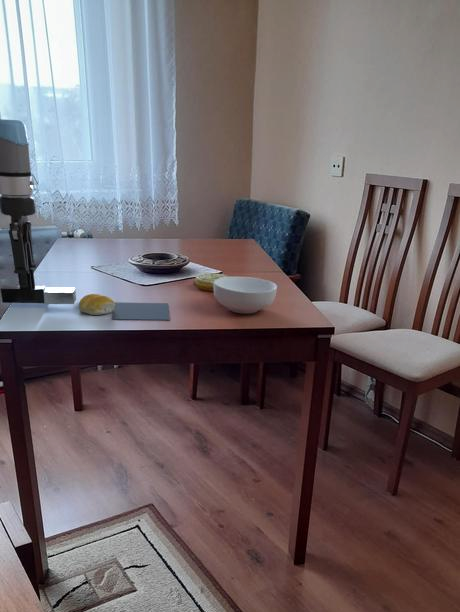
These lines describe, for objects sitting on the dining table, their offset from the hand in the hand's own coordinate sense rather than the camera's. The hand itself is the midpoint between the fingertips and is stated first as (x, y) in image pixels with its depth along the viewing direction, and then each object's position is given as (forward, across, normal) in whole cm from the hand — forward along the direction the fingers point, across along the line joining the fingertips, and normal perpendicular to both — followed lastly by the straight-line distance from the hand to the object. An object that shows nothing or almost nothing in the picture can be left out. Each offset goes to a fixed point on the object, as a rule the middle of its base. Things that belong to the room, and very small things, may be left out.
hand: (28, 297), depth 136 cm
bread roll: (+3, 0, -16) cm, 17 cm away
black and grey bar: (+1, 0, -2) cm, 3 cm away
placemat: (+3, 0, -27) cm, 28 cm away
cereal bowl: (+4, +3, -54) cm, 55 cm away
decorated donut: (+4, +24, -48) cm, 54 cm away
